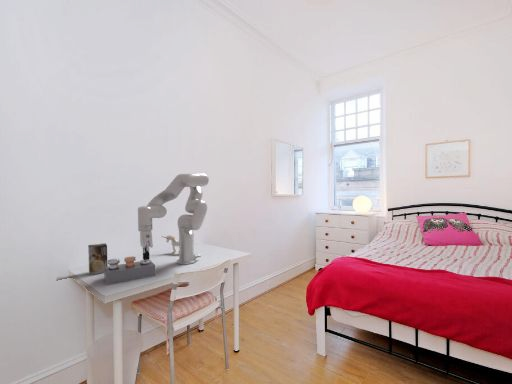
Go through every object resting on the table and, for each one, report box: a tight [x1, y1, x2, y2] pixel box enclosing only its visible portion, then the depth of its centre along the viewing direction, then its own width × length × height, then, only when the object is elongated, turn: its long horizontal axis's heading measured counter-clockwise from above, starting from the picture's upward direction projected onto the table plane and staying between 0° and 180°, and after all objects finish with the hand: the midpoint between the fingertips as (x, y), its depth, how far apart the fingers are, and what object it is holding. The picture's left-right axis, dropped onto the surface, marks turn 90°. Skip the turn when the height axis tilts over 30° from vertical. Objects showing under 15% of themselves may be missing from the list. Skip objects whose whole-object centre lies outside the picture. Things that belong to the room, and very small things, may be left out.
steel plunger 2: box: [139, 258, 152, 265], centre depth 150 cm, size 6×6×6 cm
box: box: [103, 260, 156, 285], centre depth 145 cm, size 24×12×6 cm, turn 125°
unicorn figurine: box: [161, 234, 179, 254], centre depth 195 cm, size 7×20×13 cm, turn 87°
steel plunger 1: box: [107, 258, 121, 270], centre depth 141 cm, size 6×6×6 cm
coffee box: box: [87, 242, 109, 276], centre depth 152 cm, size 9×6×16 cm
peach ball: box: [124, 256, 137, 268], centre depth 145 cm, size 6×6×6 cm
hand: (146, 259), depth 150 cm, fingers closed
